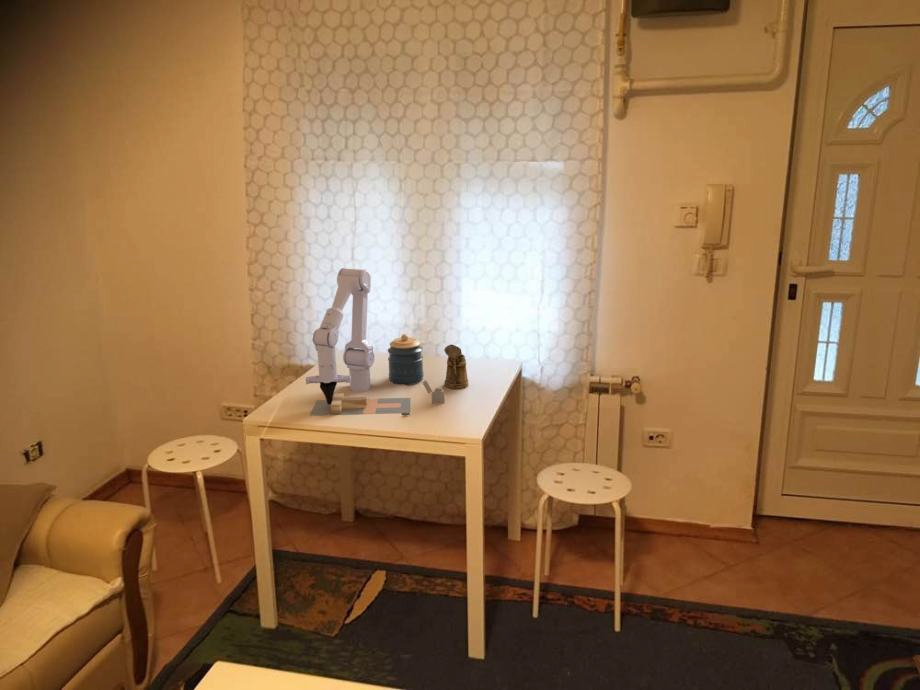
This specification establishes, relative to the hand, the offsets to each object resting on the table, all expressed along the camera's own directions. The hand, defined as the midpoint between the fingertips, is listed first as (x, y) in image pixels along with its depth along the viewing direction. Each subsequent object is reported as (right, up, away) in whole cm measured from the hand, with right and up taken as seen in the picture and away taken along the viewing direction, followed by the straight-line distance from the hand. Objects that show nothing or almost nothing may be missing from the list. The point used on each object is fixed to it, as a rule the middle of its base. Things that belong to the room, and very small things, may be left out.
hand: (330, 403), depth 229 cm
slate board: (+10, -2, +1) cm, 11 cm away
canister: (+23, +6, +30) cm, 38 cm away
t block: (+7, -1, +1) cm, 7 cm away
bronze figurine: (+41, +4, +21) cm, 46 cm away
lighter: (+34, 0, +6) cm, 35 cm away
